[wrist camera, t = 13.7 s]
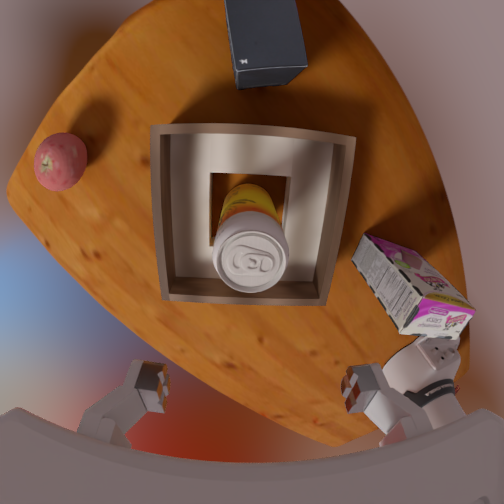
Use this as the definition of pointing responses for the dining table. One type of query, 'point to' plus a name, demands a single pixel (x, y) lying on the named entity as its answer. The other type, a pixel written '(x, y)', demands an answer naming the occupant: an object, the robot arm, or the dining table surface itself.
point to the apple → (60, 161)
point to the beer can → (249, 241)
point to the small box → (265, 42)
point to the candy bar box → (411, 290)
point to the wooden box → (248, 162)
